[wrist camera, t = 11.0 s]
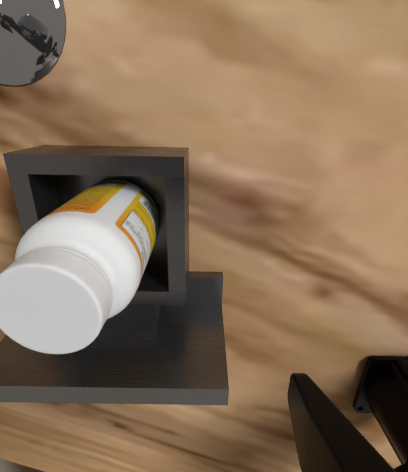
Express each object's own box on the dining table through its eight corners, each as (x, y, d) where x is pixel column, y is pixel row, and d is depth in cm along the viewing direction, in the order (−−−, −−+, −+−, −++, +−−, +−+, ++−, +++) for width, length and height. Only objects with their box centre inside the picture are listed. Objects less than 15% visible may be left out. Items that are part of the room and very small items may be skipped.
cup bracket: (220, 311, 23) (227, 405, 16) (44, 308, 23) (-32, 401, 16) (228, 148, 18) (244, 173, 11) (4, 144, 18) (-135, 166, 11)
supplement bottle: (67, 231, 19) (-50, 334, 11) (97, 161, 18) (-16, 214, 9) (140, 267, 20) (89, 387, 12) (175, 204, 19) (146, 291, 10)
